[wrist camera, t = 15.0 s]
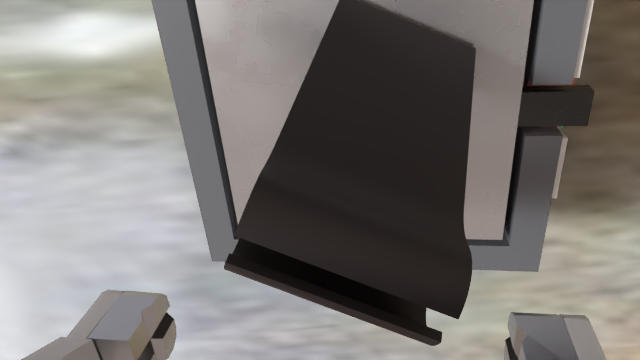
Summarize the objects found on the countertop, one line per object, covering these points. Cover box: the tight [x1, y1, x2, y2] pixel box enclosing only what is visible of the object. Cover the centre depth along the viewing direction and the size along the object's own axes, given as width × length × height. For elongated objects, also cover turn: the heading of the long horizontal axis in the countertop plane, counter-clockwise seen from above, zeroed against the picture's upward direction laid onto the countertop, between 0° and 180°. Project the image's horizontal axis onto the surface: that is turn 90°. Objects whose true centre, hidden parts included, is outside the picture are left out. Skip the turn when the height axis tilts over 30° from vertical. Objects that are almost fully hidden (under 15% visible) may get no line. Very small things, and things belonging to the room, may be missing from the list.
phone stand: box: [224, 0, 476, 346], centre depth 17 cm, size 9×6×12 cm, turn 160°
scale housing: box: [152, 0, 594, 272], centre depth 26 cm, size 18×18×9 cm
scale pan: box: [195, 0, 594, 240], centre depth 23 cm, size 17×14×1 cm
